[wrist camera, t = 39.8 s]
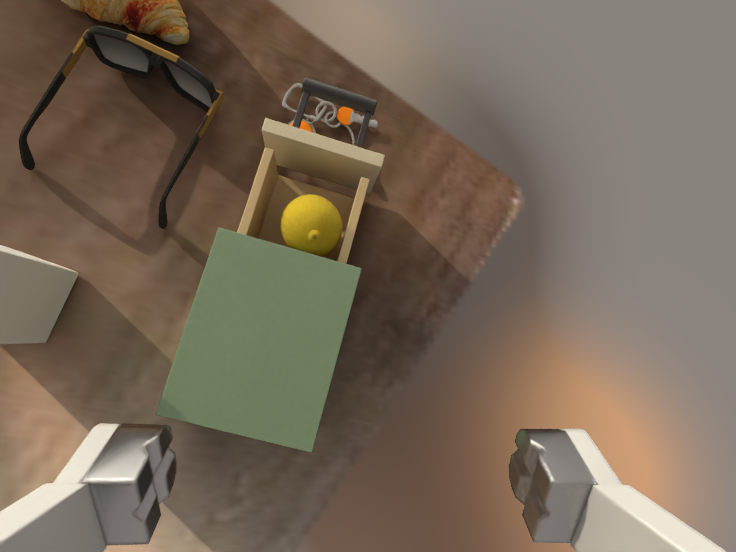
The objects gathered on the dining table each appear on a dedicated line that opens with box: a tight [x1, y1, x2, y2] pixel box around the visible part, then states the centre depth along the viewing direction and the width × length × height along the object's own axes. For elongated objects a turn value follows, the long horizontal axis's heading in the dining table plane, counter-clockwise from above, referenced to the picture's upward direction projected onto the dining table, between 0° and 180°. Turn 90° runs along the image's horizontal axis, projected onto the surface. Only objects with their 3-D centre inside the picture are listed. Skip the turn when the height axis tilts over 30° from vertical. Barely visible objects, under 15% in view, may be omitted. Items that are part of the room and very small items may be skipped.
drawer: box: [237, 77, 385, 264], centre depth 42 cm, size 20×11×7 cm, turn 165°
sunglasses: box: [19, 26, 223, 229], centre depth 42 cm, size 14×15×5 cm
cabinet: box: [156, 228, 362, 453], centre depth 39 cm, size 15×12×9 cm
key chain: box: [282, 83, 378, 146], centre depth 47 cm, size 13×7×1 cm, turn 61°
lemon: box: [280, 194, 342, 257], centre depth 40 cm, size 6×6×8 cm
